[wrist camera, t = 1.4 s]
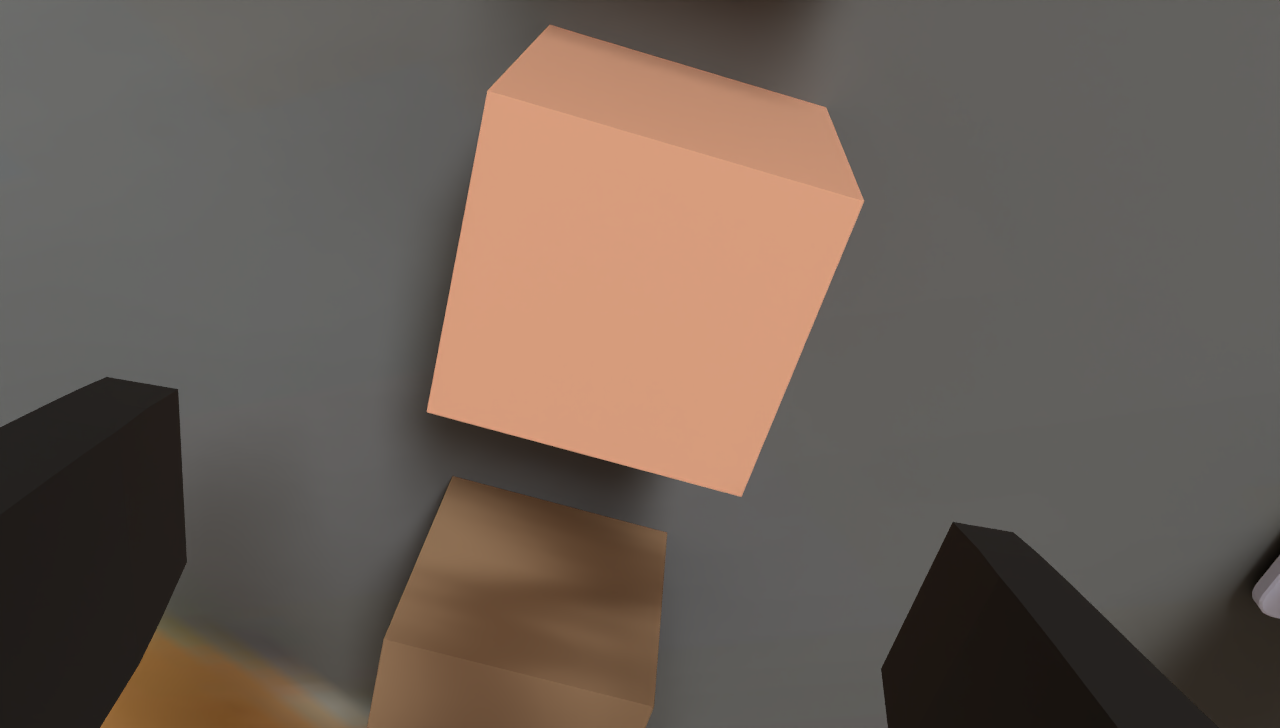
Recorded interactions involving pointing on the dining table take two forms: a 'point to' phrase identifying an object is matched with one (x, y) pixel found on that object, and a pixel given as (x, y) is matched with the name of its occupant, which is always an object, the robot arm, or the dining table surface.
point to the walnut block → (524, 619)
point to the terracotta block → (640, 259)
